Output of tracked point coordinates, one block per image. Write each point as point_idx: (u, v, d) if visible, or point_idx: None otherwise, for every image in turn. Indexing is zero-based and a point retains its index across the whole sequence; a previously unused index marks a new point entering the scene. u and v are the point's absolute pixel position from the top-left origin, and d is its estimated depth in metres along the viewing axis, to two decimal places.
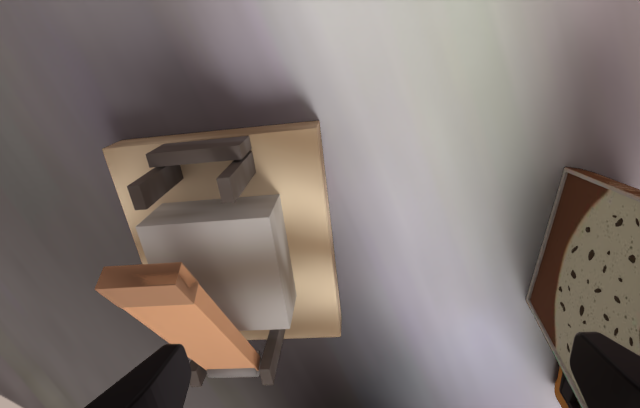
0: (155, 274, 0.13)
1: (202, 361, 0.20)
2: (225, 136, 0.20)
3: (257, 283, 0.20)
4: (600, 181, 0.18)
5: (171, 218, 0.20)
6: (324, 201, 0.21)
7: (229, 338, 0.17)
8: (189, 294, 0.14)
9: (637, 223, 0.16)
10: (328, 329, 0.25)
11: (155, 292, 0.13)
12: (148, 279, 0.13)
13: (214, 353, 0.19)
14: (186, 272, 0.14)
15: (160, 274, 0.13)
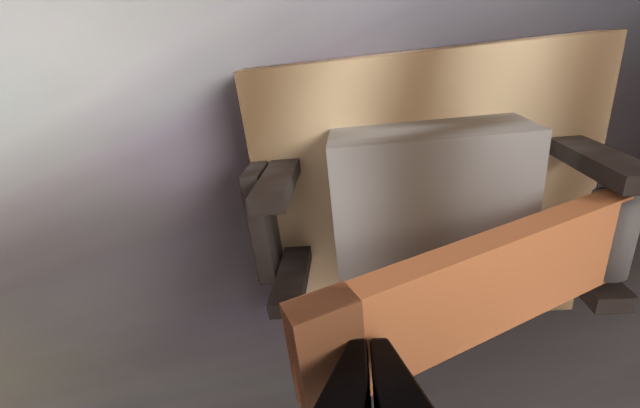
0: (291, 345, 0.08)
1: (573, 287, 0.12)
2: None
3: (444, 176, 0.12)
4: None
5: None
6: (342, 61, 0.14)
7: (500, 245, 0.10)
8: (337, 304, 0.08)
9: None
10: (602, 55, 0.13)
11: (319, 354, 0.08)
12: (294, 358, 0.08)
13: (549, 269, 0.11)
14: (303, 299, 0.08)
15: (290, 339, 0.08)
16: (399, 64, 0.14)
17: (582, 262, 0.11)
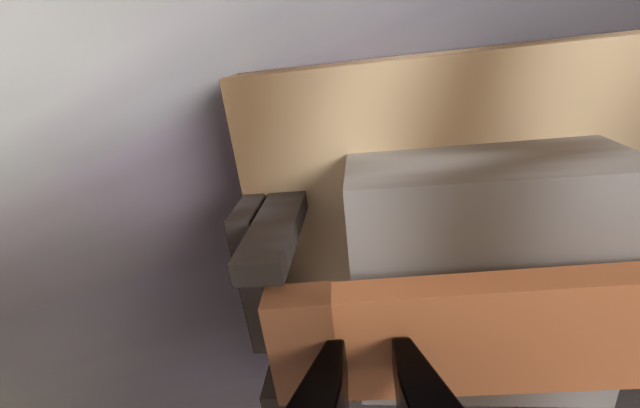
0: None
1: None
2: None
3: (513, 232, 0.09)
4: None
5: None
6: (365, 65, 0.10)
7: (525, 289, 0.08)
8: (307, 301, 0.08)
9: None
10: None
11: (285, 342, 0.09)
12: None
13: (612, 338, 0.08)
14: (285, 287, 0.09)
15: None
16: (443, 69, 0.10)
17: None
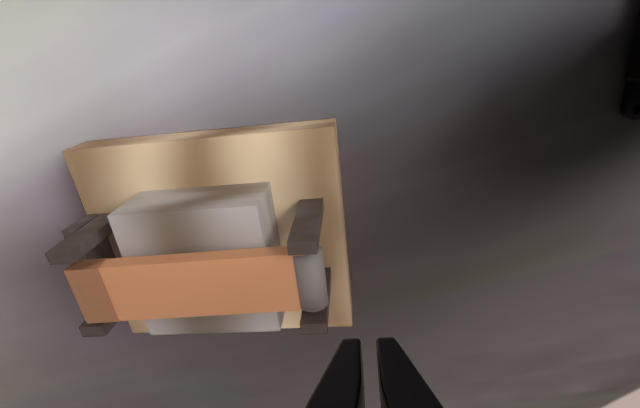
0: None
1: (268, 304, 0.17)
2: None
3: (193, 235, 0.17)
4: None
5: None
6: (139, 144, 0.19)
7: (186, 261, 0.17)
8: (88, 267, 0.17)
9: None
10: (322, 143, 0.18)
11: (81, 288, 0.17)
12: None
13: (235, 285, 0.17)
14: (84, 261, 0.18)
15: None
16: (180, 147, 0.19)
17: (269, 288, 0.17)
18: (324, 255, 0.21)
